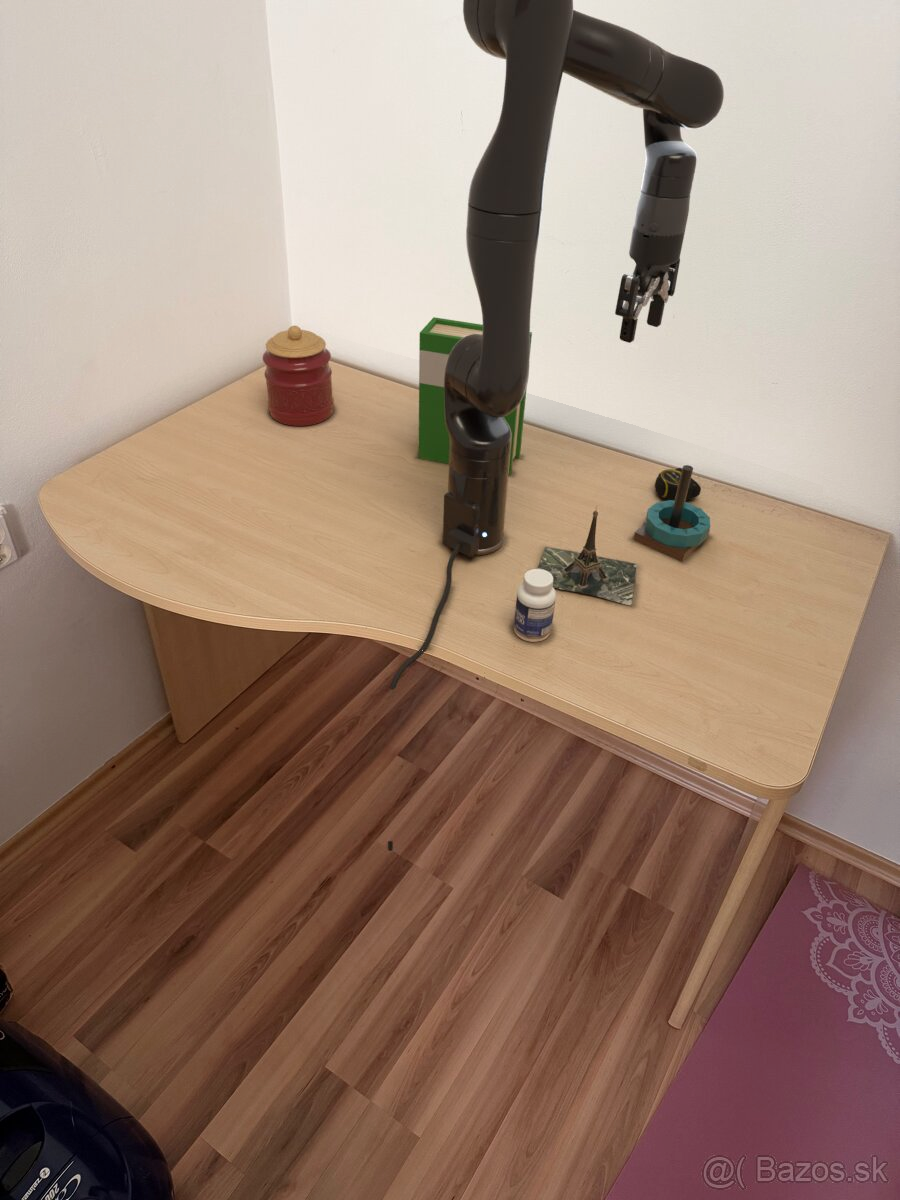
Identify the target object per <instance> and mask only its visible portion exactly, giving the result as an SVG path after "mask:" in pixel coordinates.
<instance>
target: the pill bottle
mask: <svg viewBox="0 0 900 1200" xmlns="http://www.w3.org/2000/svg"><path fill="white" fill-rule="evenodd" d="M556 600H557V592H556V588H554V587H553V576H552V574H551V573H549V572H548V571H546V570H543V569H538V568H532V569H529V570H527V571H526V572H525V573H524V575H523V581H522V583H521V584H520V585H519V586H518V588H517V592H516V601H515V607H514V608H515V610H514V619H513V631H514V633H515V634H516V636H517V637H518V638H519V639H521V640H524V641H526V642H531V643H537V642H538V643H539V642H543V641H544V640H546V639H548V637H549V636H550V635H551V633H552V629H553V620H554V613H555V606H556Z"/></svg>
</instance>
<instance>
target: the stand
mask: <svg viewBox="0 0 900 1200" xmlns="http://www.w3.org/2000/svg"><path fill="white" fill-rule="evenodd" d="M681 468H682V472H681V476H680V481H679V485H678V489H677V493H676V497H675V501H674V505H673V510H672V514H671V518H667V519H661V521H662V522H663V523H664V524H666V525H669V526H671V527H673V528H679V529H689V528H694V527H693V526H692V525H691V524H690V523H688V522H686V521H684V520H681V516H682V512H683V508H684V504H685V502H686V501H687V500H686V496H687V492H688V488H689V484H690V480H691V478H692V476H693V472H694V467H693V466H691V465H689V464H685V465H683V466H682V467H681ZM685 500H686V501H685ZM709 534H710V529H709V533H708V536H707V539H708V538H709ZM632 540H633V541H636V542H638V543H639V544H642V545H644V546H646V547H648V548H651V549H653V550H656V551H658V552H660V553H662V554H664V555H666V556H669V557H671V558H673V559H675V560H677V561H679V562H684V561H685V560H686V559H687V558H688V557H689V556H690V555H691V554H692V553H693V552H694V551H695V550H696V549H697V548H699V546H700V545H697V546H692V547H686V548H681V547H674V546H668V545H665V544H663V543H661V542H659V541H657V540H655V539H653V538H652V537H651V536H650V535H649V534H648V532H647V531H646V530H645V523H644V524H642V526H640V528H638V529H637V530H636V531H634V535H633V539H632Z"/></svg>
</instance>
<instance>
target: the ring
mask: <svg viewBox="0 0 900 1200" xmlns="http://www.w3.org/2000/svg"><path fill="white" fill-rule="evenodd" d="M673 505H674V501H673V500H663V501H657V502H655V503H654V504H651V506H650V507H648V508H647V511H646V517H645V520H644V521H645V522H644V524H645V530H646V531H647V532H648V534H649V535H650V536H651V537H652V538H653V539H655V540H657V541H659V542H661V543H663V544H665V545H668V546H674V547H681V548H686V547H692V546H697V545H699V546H701V544H703V543H704V542H705V541H706V540H707V539H708V538H707V536H708V537H709V535H708V533H709V534H710V531H709V530H710V529H711V517H710V516H709V515H708V514H707V513H706V512H705V511H704V509H702V508H701V507H699V506H696V505H694V504H692V503H690V502H687V501H685V504H684V508H683V512H682V516H681V520H684V521H686V522H688V523H690V524H691V525H692V526H693V527H694V528H689V529H679V528H673V527H671V526H669V525H666V524H664V523H663V522H662V521H661V519H667V518H671V514H672V510H673Z"/></svg>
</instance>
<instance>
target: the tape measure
mask: <svg viewBox="0 0 900 1200" xmlns="http://www.w3.org/2000/svg"><path fill="white" fill-rule="evenodd" d="M682 468H683V467H677V468H675V469H672V468H667V469H664V470H662V471H661V472H659V473H658V475H657V477H656V479H655V482H654V488H655V491H656V494H658V495H659V496H660V497H661V498H663V499H664V500H666V501H668V500H673V501H675V497H676V493H677V489H678V485H679V481H680V476H681V472H682ZM701 491H702V487H701V485H700V484H699V483H698V482H697V481H696V480H694V479H693V478H692V477H691V480H690V484H689V488H688V492H687V496H686V500H685V502H687V501H688V500H691V499H695V498H698V497H699V496H700V494H701Z"/></svg>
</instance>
